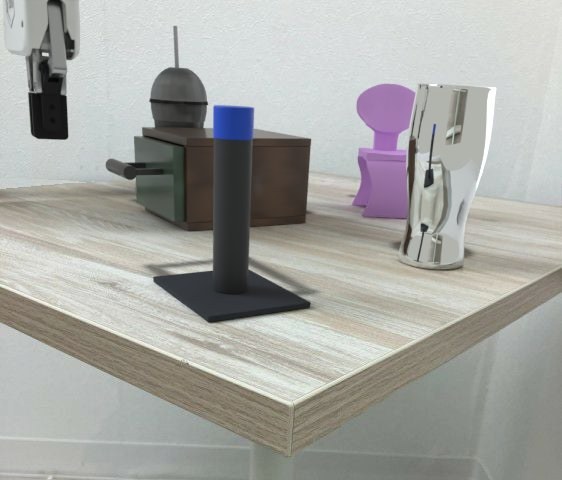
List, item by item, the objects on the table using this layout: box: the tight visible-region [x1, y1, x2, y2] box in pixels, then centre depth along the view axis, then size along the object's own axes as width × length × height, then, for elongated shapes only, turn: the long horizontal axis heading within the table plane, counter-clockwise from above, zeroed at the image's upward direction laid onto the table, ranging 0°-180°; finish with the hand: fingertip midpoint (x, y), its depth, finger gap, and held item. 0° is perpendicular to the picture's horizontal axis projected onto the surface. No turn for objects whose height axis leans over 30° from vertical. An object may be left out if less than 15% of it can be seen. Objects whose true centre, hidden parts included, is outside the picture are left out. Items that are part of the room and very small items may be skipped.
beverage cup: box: [148, 25, 209, 128], centre depth 81 cm, size 7×7×20 cm
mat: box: [152, 269, 312, 323], centre depth 48 cm, size 10×8×1 cm
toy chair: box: [351, 83, 416, 219], centre depth 80 cm, size 8×9×15 cm
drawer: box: [105, 135, 185, 222], centre depth 71 cm, size 18×11×7 cm, turn 121°
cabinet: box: [141, 126, 312, 232], centre depth 73 cm, size 15×13×9 cm
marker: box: [212, 104, 255, 294], centre depth 45 cm, size 3×3×12 cm
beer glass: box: [397, 82, 497, 271], centre depth 57 cm, size 7×7×15 cm
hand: (49, 137), depth 63 cm, fingers closed
